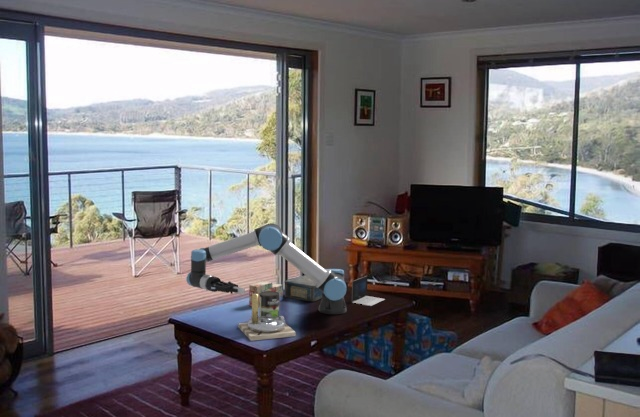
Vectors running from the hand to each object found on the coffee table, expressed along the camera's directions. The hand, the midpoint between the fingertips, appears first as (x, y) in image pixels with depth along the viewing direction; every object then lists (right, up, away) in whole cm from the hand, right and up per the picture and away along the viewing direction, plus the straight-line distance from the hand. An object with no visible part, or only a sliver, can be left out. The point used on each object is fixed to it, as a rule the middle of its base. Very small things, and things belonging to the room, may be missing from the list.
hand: (243, 291), depth 322 cm
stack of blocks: (+7, -13, +52) cm, 54 cm away
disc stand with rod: (+11, -17, 0) cm, 21 cm away
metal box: (+33, -11, +75) cm, 82 cm away
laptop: (+65, -14, +61) cm, 90 cm away
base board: (+11, -19, 0) cm, 22 cm away
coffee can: (+11, -17, +19) cm, 28 cm away
